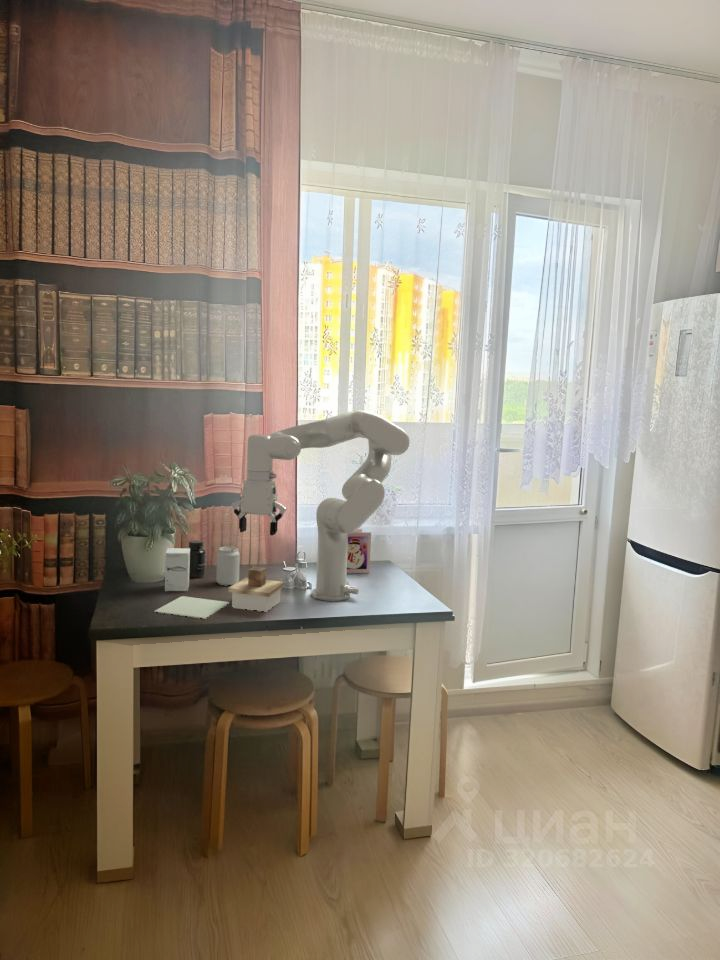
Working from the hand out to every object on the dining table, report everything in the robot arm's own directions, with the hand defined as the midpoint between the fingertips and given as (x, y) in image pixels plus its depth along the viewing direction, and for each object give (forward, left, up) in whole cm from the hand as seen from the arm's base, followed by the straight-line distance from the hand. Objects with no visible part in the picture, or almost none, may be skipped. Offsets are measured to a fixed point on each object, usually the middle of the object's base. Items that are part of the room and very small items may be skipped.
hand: (257, 533), depth 219 cm
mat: (+16, +10, -22) cm, 29 cm away
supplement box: (+30, -6, -22) cm, 38 cm away
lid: (0, 0, -17) cm, 17 cm away
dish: (0, 0, -22) cm, 22 cm away
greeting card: (-16, -51, -22) cm, 58 cm away
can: (+18, -18, -22) cm, 34 cm away
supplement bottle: (+32, -22, -22) cm, 45 cm away
